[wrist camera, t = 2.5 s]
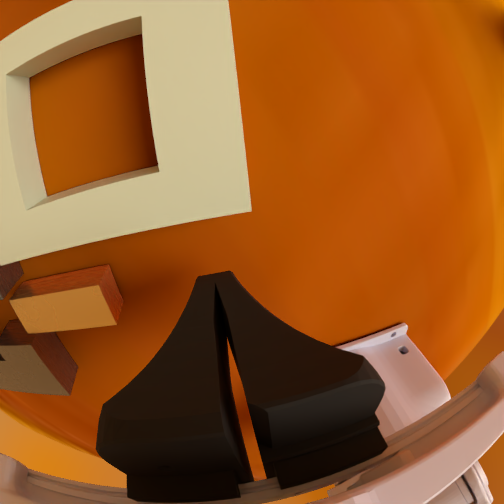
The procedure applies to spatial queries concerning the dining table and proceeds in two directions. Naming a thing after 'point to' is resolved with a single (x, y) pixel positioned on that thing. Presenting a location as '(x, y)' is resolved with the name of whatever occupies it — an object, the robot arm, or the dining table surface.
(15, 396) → the dining table surface
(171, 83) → the cream flat rectangular frame
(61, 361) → the socket block
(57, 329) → the drift key
